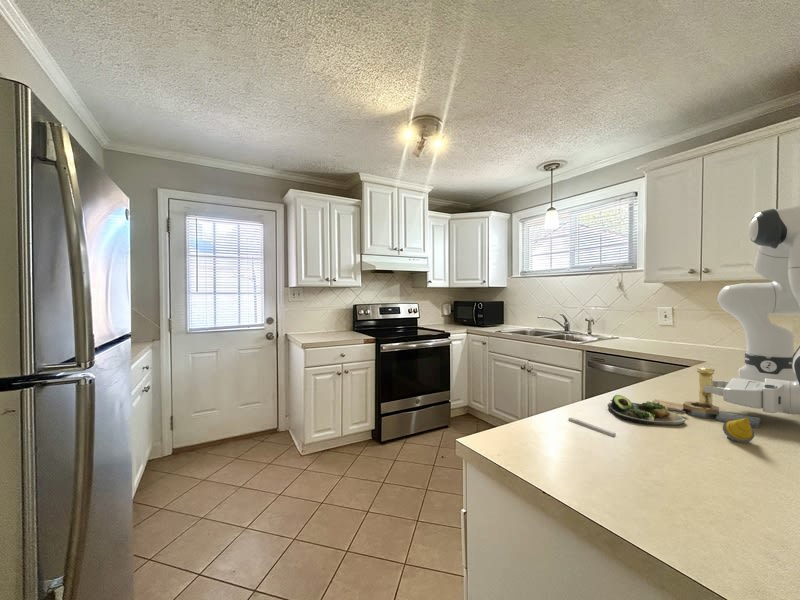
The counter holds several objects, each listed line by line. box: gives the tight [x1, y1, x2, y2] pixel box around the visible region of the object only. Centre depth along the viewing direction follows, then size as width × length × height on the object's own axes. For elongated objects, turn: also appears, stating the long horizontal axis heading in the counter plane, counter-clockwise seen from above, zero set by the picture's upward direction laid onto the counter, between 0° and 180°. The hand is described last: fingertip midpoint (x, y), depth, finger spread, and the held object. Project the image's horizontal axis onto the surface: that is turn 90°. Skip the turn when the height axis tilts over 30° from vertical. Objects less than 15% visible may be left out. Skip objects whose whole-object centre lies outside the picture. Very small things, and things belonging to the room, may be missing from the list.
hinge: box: [651, 398, 761, 429], centre depth 98 cm, size 7×23×2 cm, turn 40°
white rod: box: [568, 417, 616, 437], centre depth 89 cm, size 12×1×1 cm, turn 25°
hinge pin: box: [696, 366, 715, 405], centre depth 104 cm, size 4×4×12 cm
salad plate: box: [607, 394, 687, 426], centre depth 98 cm, size 19×18×5 cm
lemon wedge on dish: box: [722, 418, 755, 444], centre depth 79 cm, size 5×5×10 cm
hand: (706, 385), depth 103 cm, fingers open, 8 cm apart
